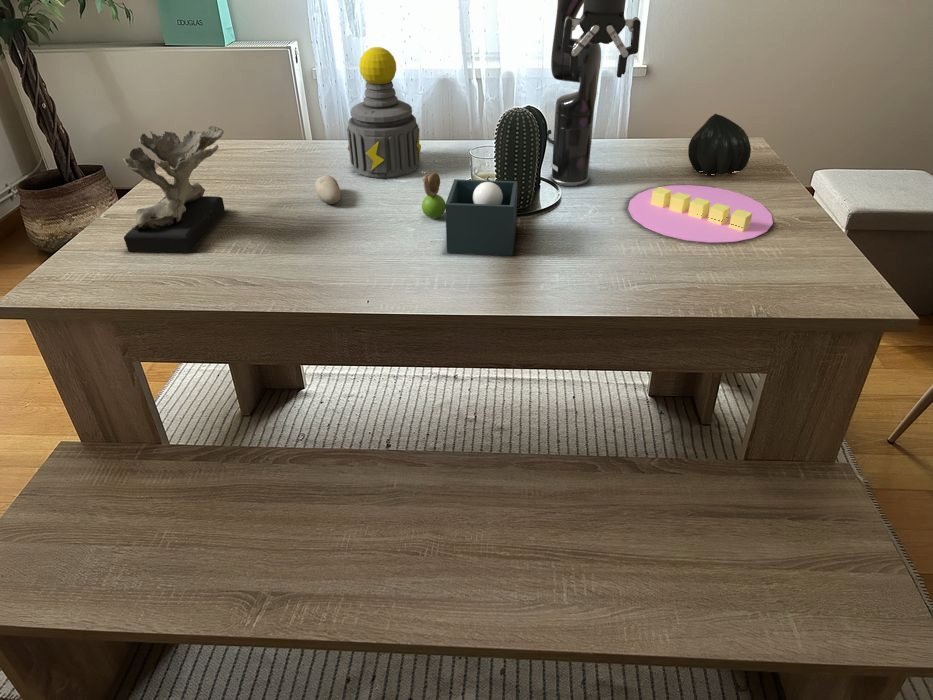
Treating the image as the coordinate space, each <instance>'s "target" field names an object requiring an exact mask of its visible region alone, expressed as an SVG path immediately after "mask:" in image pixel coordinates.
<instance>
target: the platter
mask: <svg viewBox="0 0 933 700" xmlns="http://www.w3.org/2000/svg"><path fill="white" fill-rule="evenodd" d="M627 211H628V212H629V214H630V216H631V218H632V219H633V220H634V221H636V222H637V223H638V224H640V225H641V226H642V227H644V228H645V229H648V230H650V231H653V232H654V233H657V234H659V235H662V236H665V237H669V238H674V239H678V240H682V241H688V242H696V243H697V242H698V243H706V244H722V243H723V244H726V243H738V242H743V241H747V240H753V239H755V238H757V237H760V236H761V235H764V234H765V233H767V232H768V231H769V230H770V228H771V227H772V226H773V224H774V220H773V214H772V212H770V210H768V208H766V206H765V205H764V204H762V203H760V202H758V201H757V200H755V199H753V198H751V197H750V196H747V195H745V194H741V193H738V192H735V191H732V190H728V189H723V188H717V187H713V186H705V185H695V184H677V185H675V184H673V185H664V186H659V187H652V188H649V189H647V190H644V191H641V192H638V193H637V194H635V196H633V197H632V198H631V199H629V204H628V208H627ZM707 211H708V212H707ZM706 212H707V213H706ZM697 214H698V215H697ZM703 214H704V215H703ZM701 215H702V216H701ZM708 217H709V218H708ZM726 217H728V218H726ZM711 218H713V219H711ZM725 218H726V219H725ZM714 219H716V220H714ZM724 219H725V220H724ZM718 220H720V221H718ZM722 220H723V221H722ZM721 221H722V222H721ZM729 223H730V224H729ZM749 223H750V224H749ZM731 224H734V225H731ZM747 224H749V225H747ZM735 225H737V226H735ZM746 225H747V226H746ZM738 226H740V227H738ZM745 226H746V227H745ZM741 227H744V228H741Z"/></svg>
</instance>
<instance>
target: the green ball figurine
mask: <svg viewBox="0 0 933 700" xmlns="http://www.w3.org/2000/svg"><path fill="white" fill-rule="evenodd" d="M427 173H428V172H427V171H423V170H422V171H421V174H422V175H423V176H422V182H423V189H424V192H425V194H426V196H424V198H423V200H422V202H421V210H422V212H423V214H424V215H425V216H426V217H427V218H429V219H438V218H440V217H441V216H443V215H444V213H446V209H445V204H446V201H445V199H444V198H443V197H442V196H441V195H440V194H438V193H439V191H440V185H441V177H440V175H439V173H438V172H431V173H430V174H429V176H427Z"/></svg>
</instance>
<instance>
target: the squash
mask: <svg viewBox="0 0 933 700" xmlns="http://www.w3.org/2000/svg"><path fill="white" fill-rule="evenodd" d="M687 148H688V149H687V154H688V155H687V156H688V160H689V162H690V164H691V167H692V169H693V170H694V171H695V170H696V171H695V173H698V174H700V175H705V174H707V175H705V176H706V177H710V178H711V177H715V176H716V175H719V174H720V175H719V176H724V175H736V174H739V172H737V173H732V172H734V171H740V172H742V171H743V170H744V169H745V168H746V167H747V165H748V163H749V161H750V158H751V152H752V147H751V143H750V139H749V136H748V134H747V133H746V131H745V130H744V128H742V127H741V126H740V125H739V124H738V123H736V122H734V121H733V120H731V119H729V118H727V117H725V116H723V115H721V114H718V113H714V114H713V115H711V116H710V117H709V118H708V119H707V120H706V121H705V122H704V124H703V125H702V126H701V127H700V128H699V129H698V130H697V131H696V132H695V133H694V135H693V136H692V138H690V141H689V143H688V147H687ZM741 170H742V171H741ZM699 171H703V172H699ZM716 173H717V174H716ZM711 174H715V175H711Z"/></svg>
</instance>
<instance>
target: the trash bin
mask: <svg viewBox="0 0 933 700" xmlns="http://www.w3.org/2000/svg"><path fill="white" fill-rule="evenodd" d="M483 182H493V183H495V184H496V185H498V186H499V187H500V189H501V191H502V194H503V201H502V204H501V205H489V204H474V202H473V192H474V190H475V188H476V187H477V186H478V185H479V184H481V183H483ZM518 184H519V183H518V180H489V179H488V180H487V179H486V180H484V179H483V180H482V179H459V178H458V179H457V178H455V179H454V180H453V182H452V185H451V187H450V191H449V193H448V196H447V199H446V201H445V237H446V239H445V240H446V254H456V255H457V254H458V255H459V254H460V255H481V256H503V257H505V256H506V257H512V256H513V254H514V246H515V239H516V233H517V232H516V231H517V217H518V214H517V213H518V212H517V211H518Z"/></svg>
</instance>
